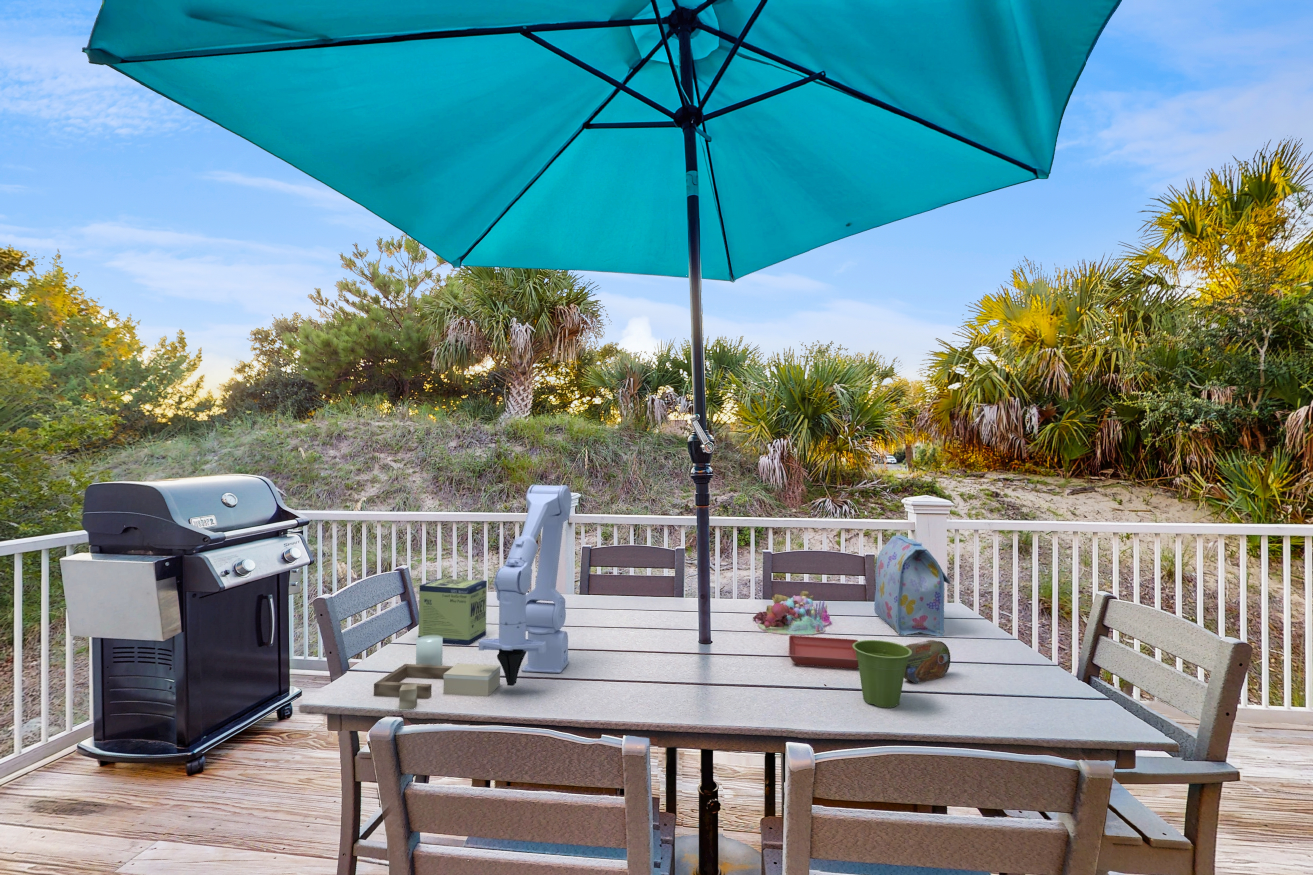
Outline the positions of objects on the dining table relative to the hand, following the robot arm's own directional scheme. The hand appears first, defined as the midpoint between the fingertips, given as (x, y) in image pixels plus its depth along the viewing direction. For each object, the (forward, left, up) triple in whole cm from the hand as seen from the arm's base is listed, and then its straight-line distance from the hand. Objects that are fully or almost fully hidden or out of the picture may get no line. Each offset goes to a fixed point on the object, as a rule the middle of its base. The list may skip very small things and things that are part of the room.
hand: (511, 684), depth 140 cm
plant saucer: (-71, -33, -2) cm, 78 cm away
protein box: (+30, -36, -2) cm, 47 cm away
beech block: (+18, +11, -2) cm, 21 cm away
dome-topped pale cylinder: (+25, -12, -2) cm, 28 cm away
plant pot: (-79, -5, -2) cm, 79 cm away
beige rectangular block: (+9, 0, -2) cm, 9 cm away
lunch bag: (-101, -67, -2) cm, 121 cm away
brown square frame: (+23, 0, -2) cm, 23 cm away
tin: (-92, -21, -2) cm, 94 cm away
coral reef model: (-66, -65, -2) cm, 93 cm away
